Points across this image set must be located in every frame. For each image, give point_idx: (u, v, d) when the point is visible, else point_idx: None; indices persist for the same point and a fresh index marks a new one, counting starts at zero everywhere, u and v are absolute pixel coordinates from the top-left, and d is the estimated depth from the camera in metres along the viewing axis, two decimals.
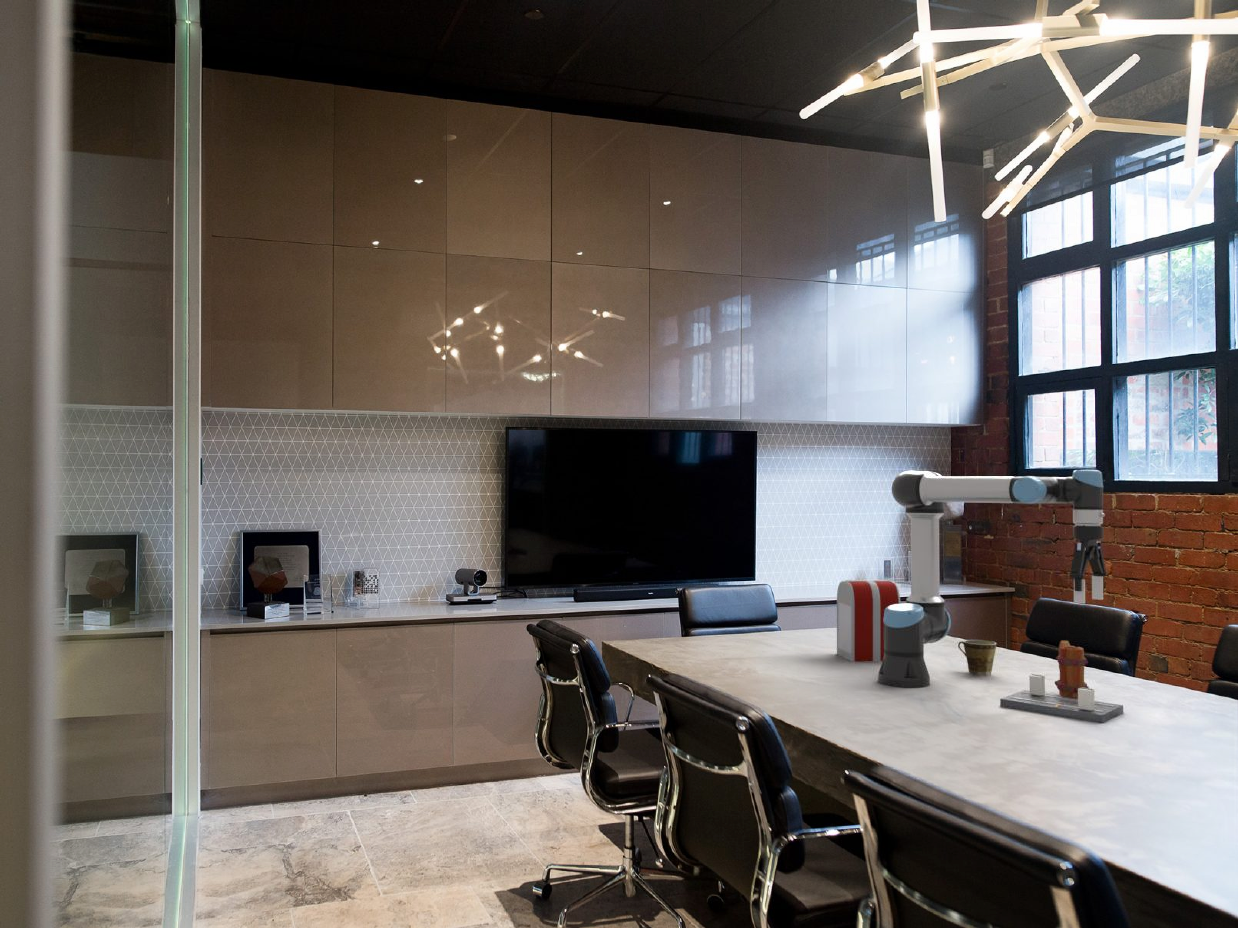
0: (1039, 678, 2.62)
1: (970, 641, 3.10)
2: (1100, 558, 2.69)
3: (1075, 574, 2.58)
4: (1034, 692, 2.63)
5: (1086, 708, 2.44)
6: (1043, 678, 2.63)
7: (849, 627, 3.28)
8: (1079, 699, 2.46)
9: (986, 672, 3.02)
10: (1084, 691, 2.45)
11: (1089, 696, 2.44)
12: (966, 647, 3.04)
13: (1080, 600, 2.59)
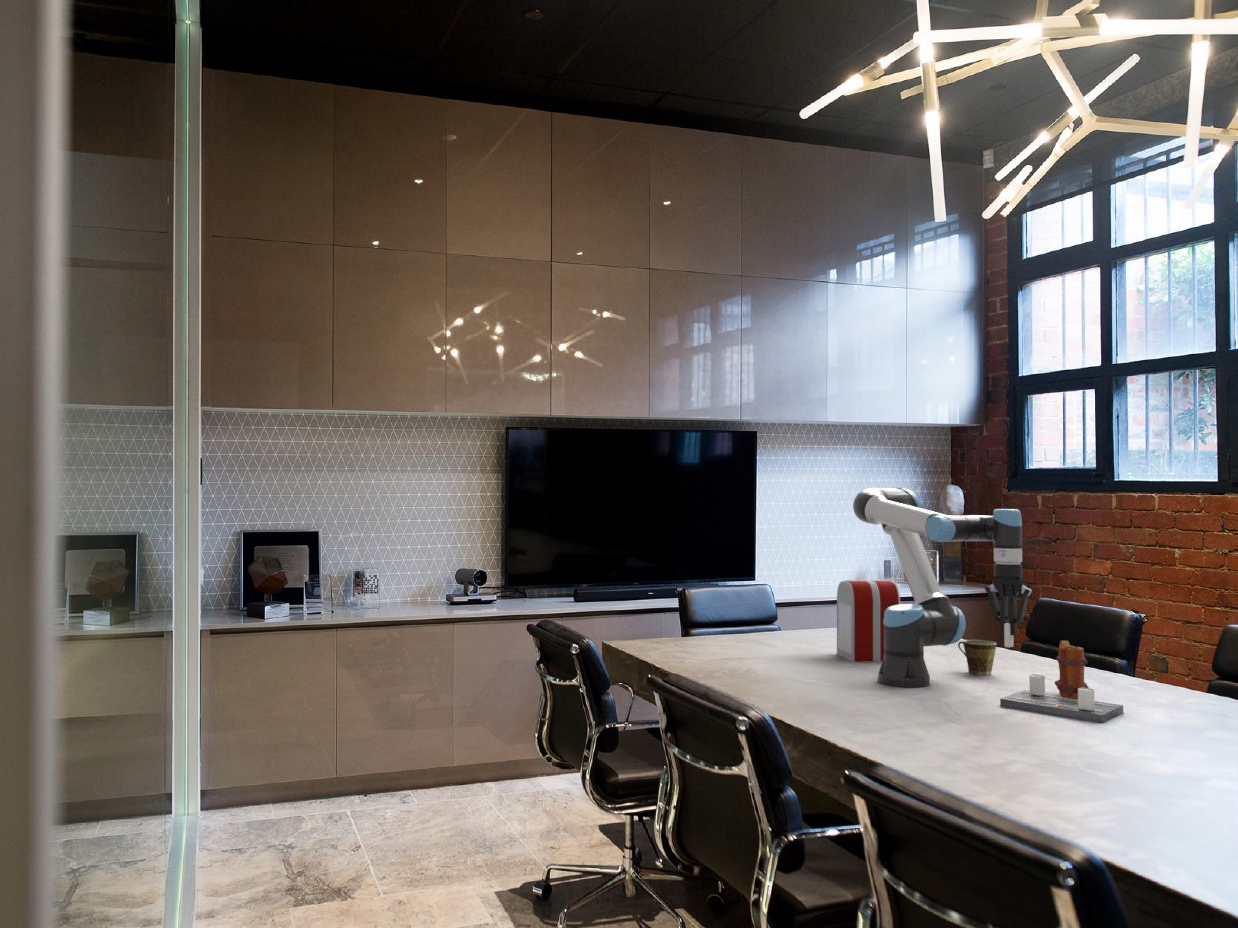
0: (1039, 678, 2.62)
1: (970, 641, 3.10)
2: None
3: None
4: (1034, 692, 2.63)
5: (1086, 708, 2.44)
6: (1043, 678, 2.63)
7: (849, 627, 3.28)
8: (1079, 699, 2.46)
9: (986, 672, 3.02)
10: (1084, 691, 2.45)
11: (1089, 696, 2.44)
12: (966, 647, 3.04)
13: None
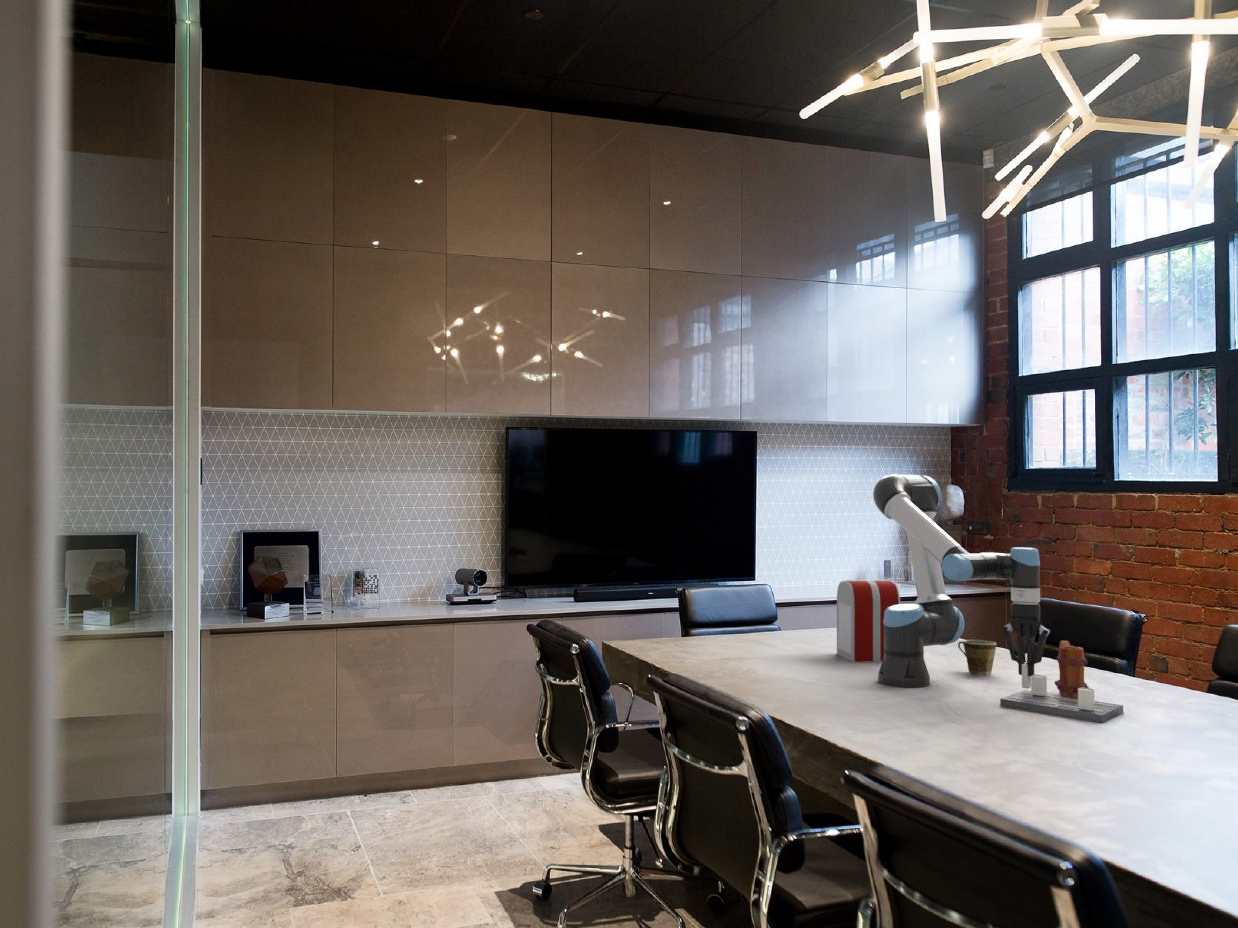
0: (1041, 678, 2.61)
1: (970, 641, 3.10)
2: None
3: None
4: (1036, 692, 2.62)
5: (1086, 708, 2.44)
6: (1045, 678, 2.63)
7: (849, 627, 3.28)
8: (1079, 699, 2.46)
9: (986, 672, 3.02)
10: (1084, 691, 2.45)
11: (1089, 696, 2.44)
12: (966, 647, 3.04)
13: None
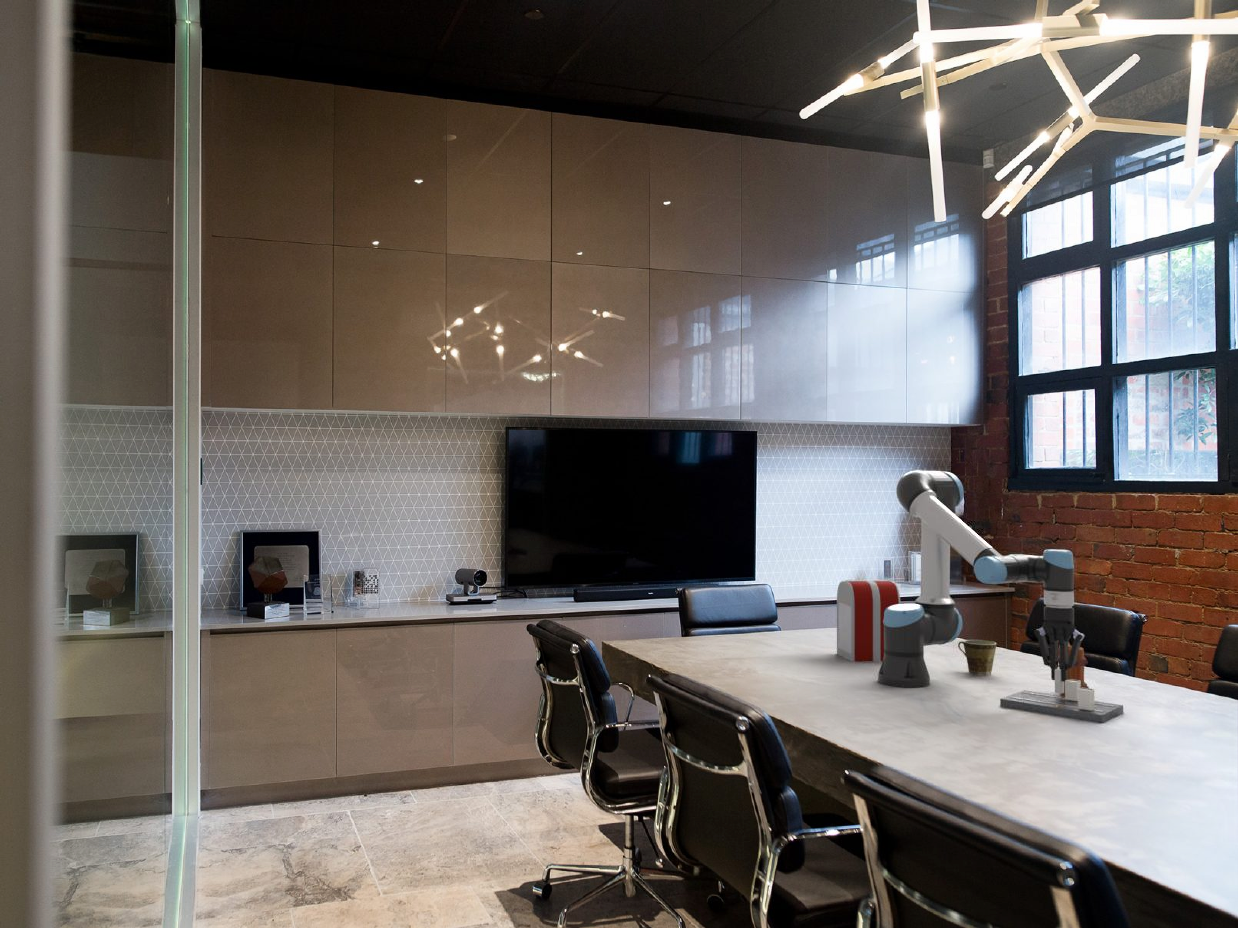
0: (1075, 683, 2.55)
1: (970, 641, 3.10)
2: None
3: None
4: (1070, 697, 2.56)
5: (1086, 708, 2.44)
6: (1079, 683, 2.56)
7: (849, 627, 3.28)
8: (1079, 699, 2.46)
9: (986, 672, 3.02)
10: (1084, 691, 2.45)
11: (1089, 696, 2.44)
12: (966, 647, 3.04)
13: None
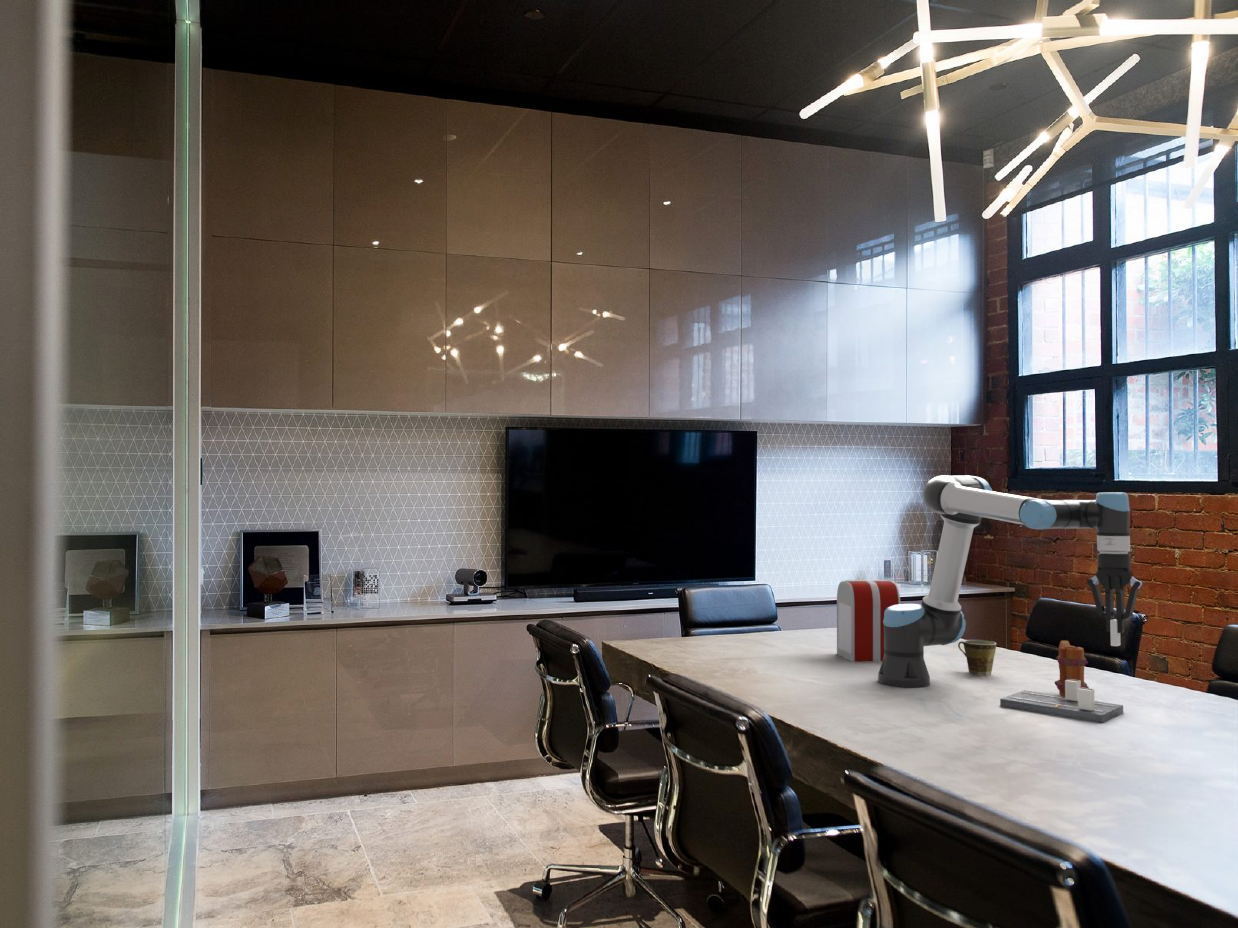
0: (1075, 683, 2.55)
1: (970, 641, 3.10)
2: None
3: None
4: (1070, 697, 2.56)
5: (1086, 708, 2.44)
6: (1079, 683, 2.56)
7: (849, 627, 3.28)
8: (1079, 699, 2.46)
9: (986, 672, 3.02)
10: (1084, 691, 2.45)
11: (1089, 696, 2.44)
12: (966, 647, 3.04)
13: None
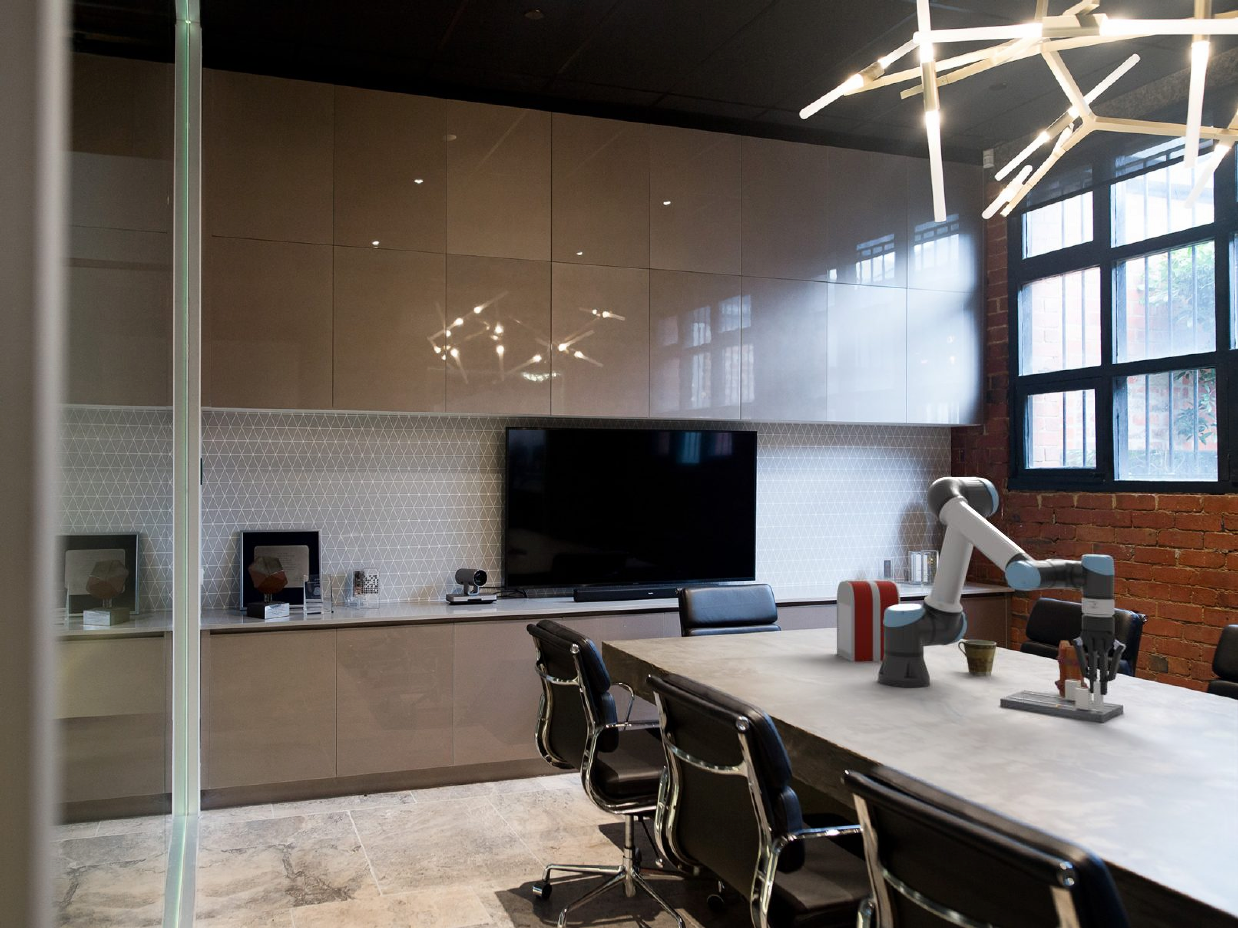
0: (1075, 683, 2.55)
1: (970, 641, 3.10)
2: None
3: None
4: (1070, 697, 2.56)
5: (1083, 708, 2.45)
6: (1079, 683, 2.56)
7: (849, 627, 3.28)
8: (1076, 699, 2.46)
9: (986, 672, 3.02)
10: (1081, 691, 2.45)
11: (1086, 696, 2.44)
12: (966, 647, 3.04)
13: None
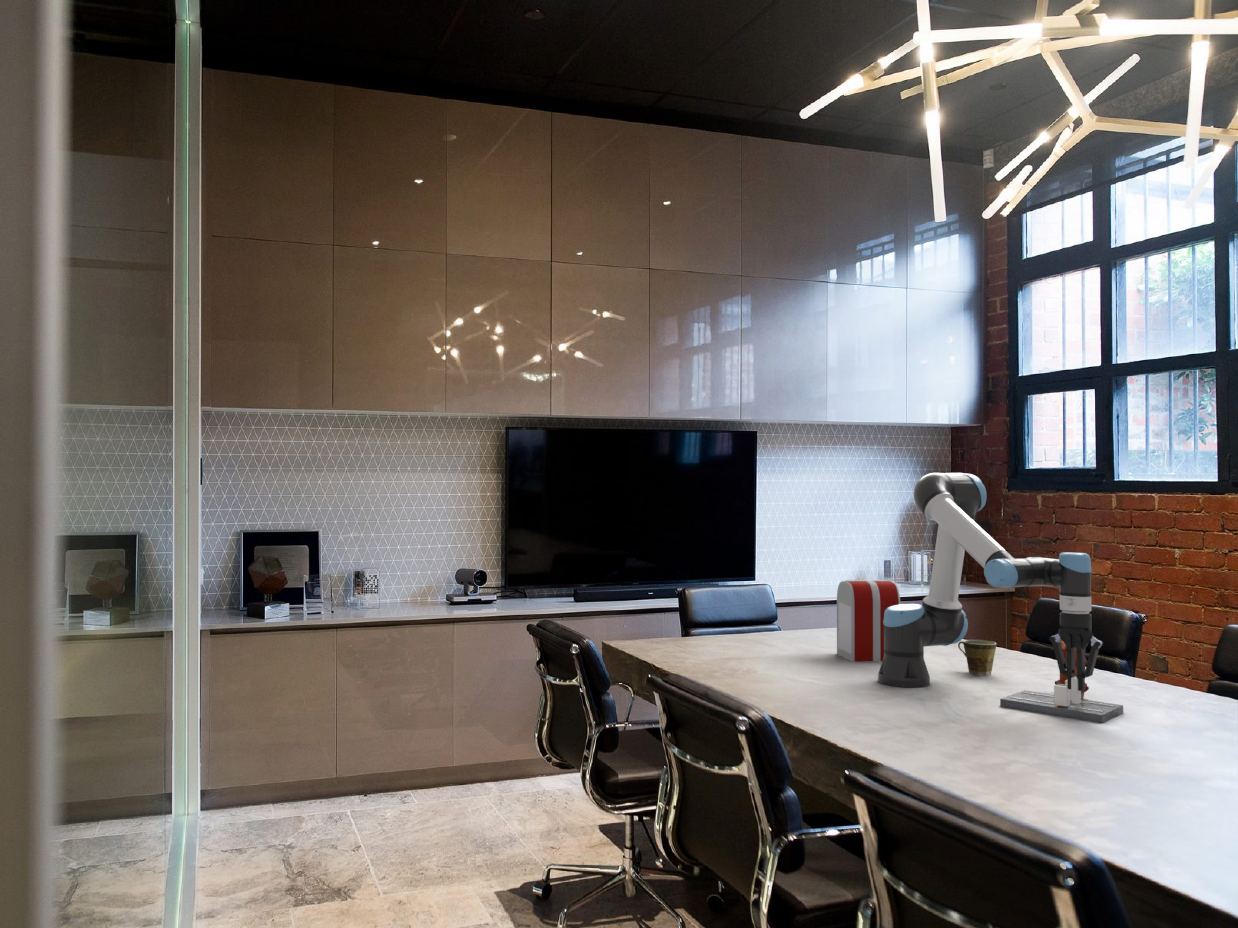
0: None
1: (970, 641, 3.10)
2: None
3: None
4: (1070, 697, 2.56)
5: (1062, 704, 2.49)
6: None
7: (849, 627, 3.28)
8: (1055, 695, 2.50)
9: (986, 672, 3.02)
10: (1060, 687, 2.49)
11: (1065, 692, 2.48)
12: (966, 647, 3.04)
13: None
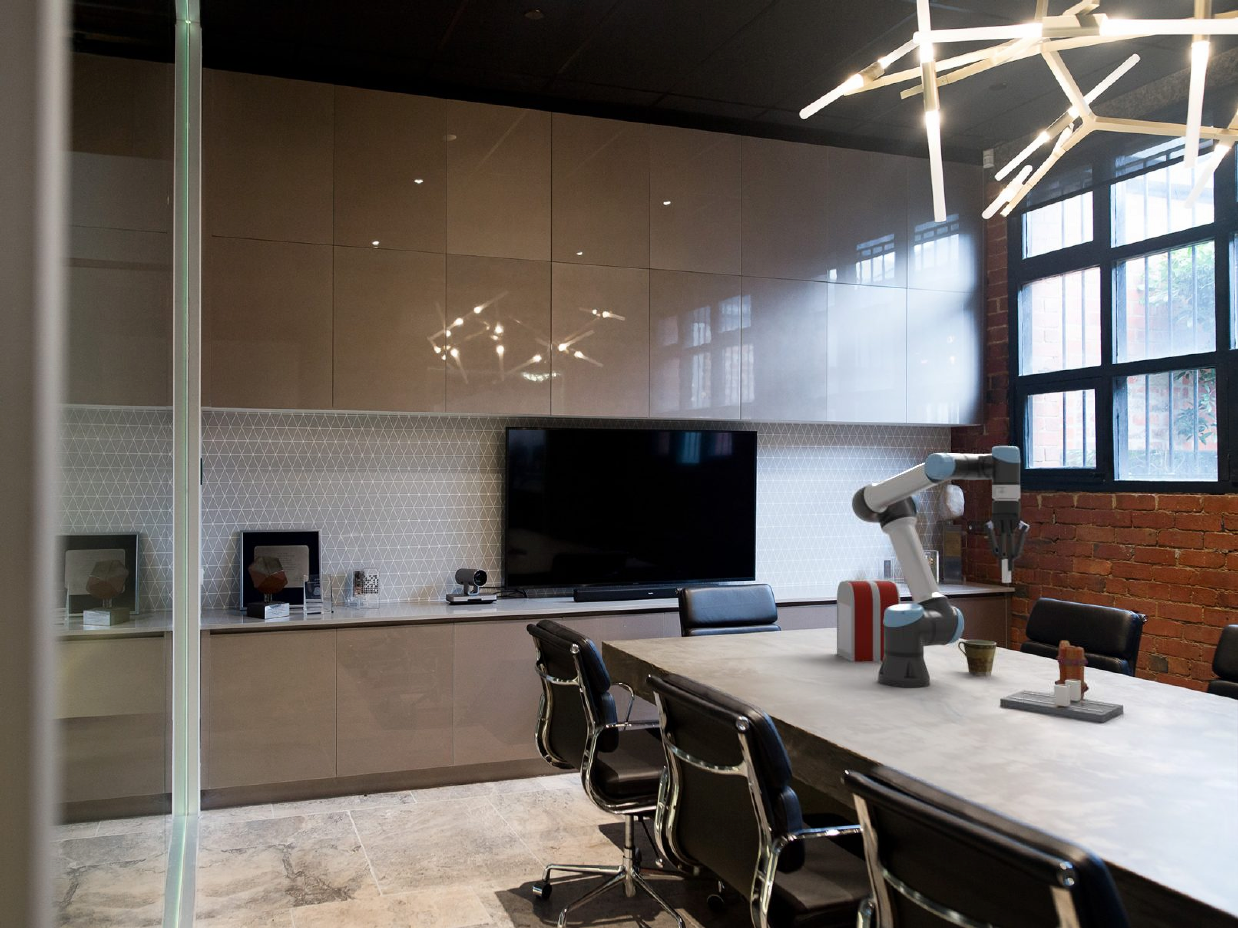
0: (1075, 683, 2.55)
1: (970, 641, 3.10)
2: None
3: None
4: (1070, 697, 2.56)
5: (1062, 704, 2.49)
6: (1079, 683, 2.56)
7: (849, 627, 3.28)
8: (1055, 695, 2.50)
9: (986, 672, 3.02)
10: (1060, 687, 2.49)
11: (1065, 692, 2.48)
12: (966, 647, 3.04)
13: None
